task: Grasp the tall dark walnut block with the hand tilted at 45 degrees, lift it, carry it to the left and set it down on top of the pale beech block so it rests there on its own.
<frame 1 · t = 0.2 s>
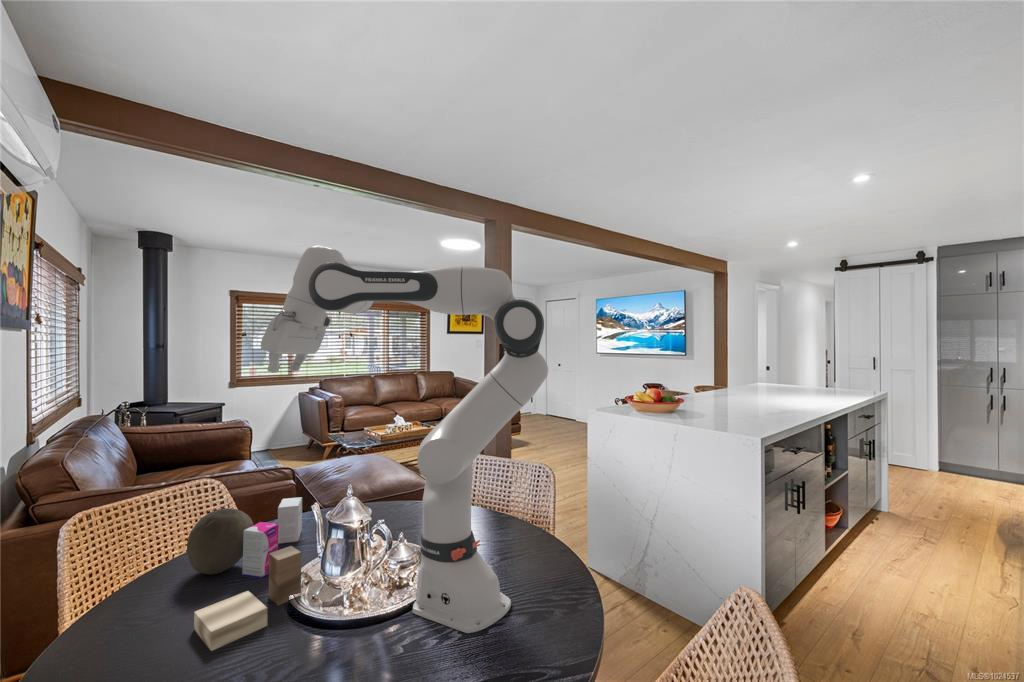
hand: (283, 371, 104), 51 cm above the table, tool tilted 20°, fingers open, 8 cm apart
beech block: (231, 629, 92), on the table
supplement box: (260, 572, 114), on the table
small box: (290, 537, 134), on the table
walnut block: (285, 596, 103), on the table
cantaloupe: (221, 570, 115), on the table
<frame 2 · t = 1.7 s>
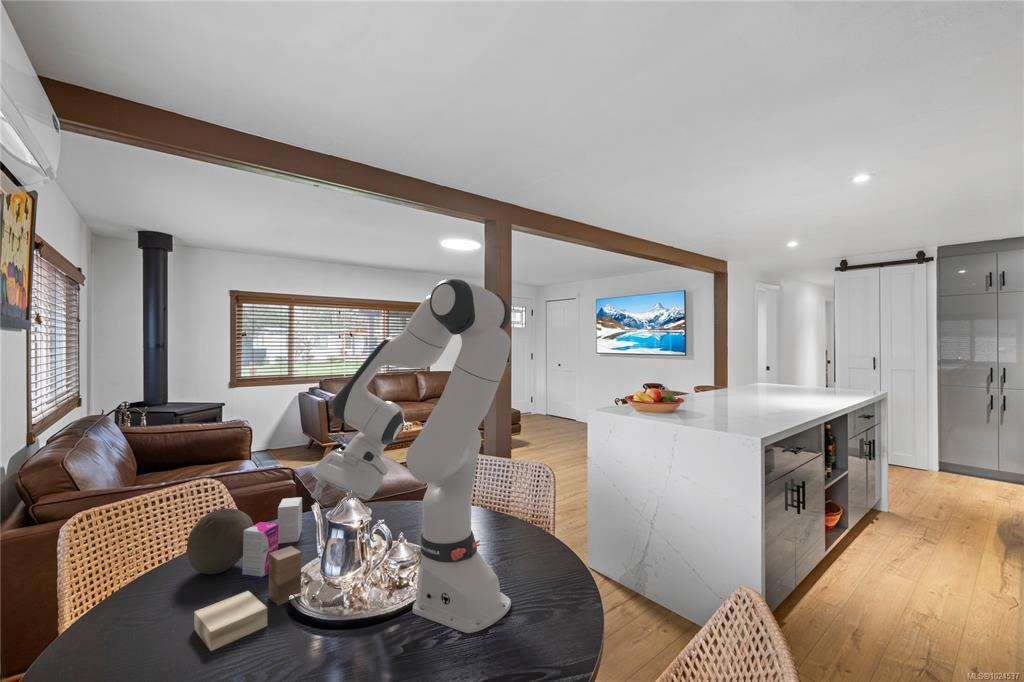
hand: (326, 503, 112), 18 cm above the table, tool tilted 45°, fingers open, 8 cm apart
nothing on the table moved.
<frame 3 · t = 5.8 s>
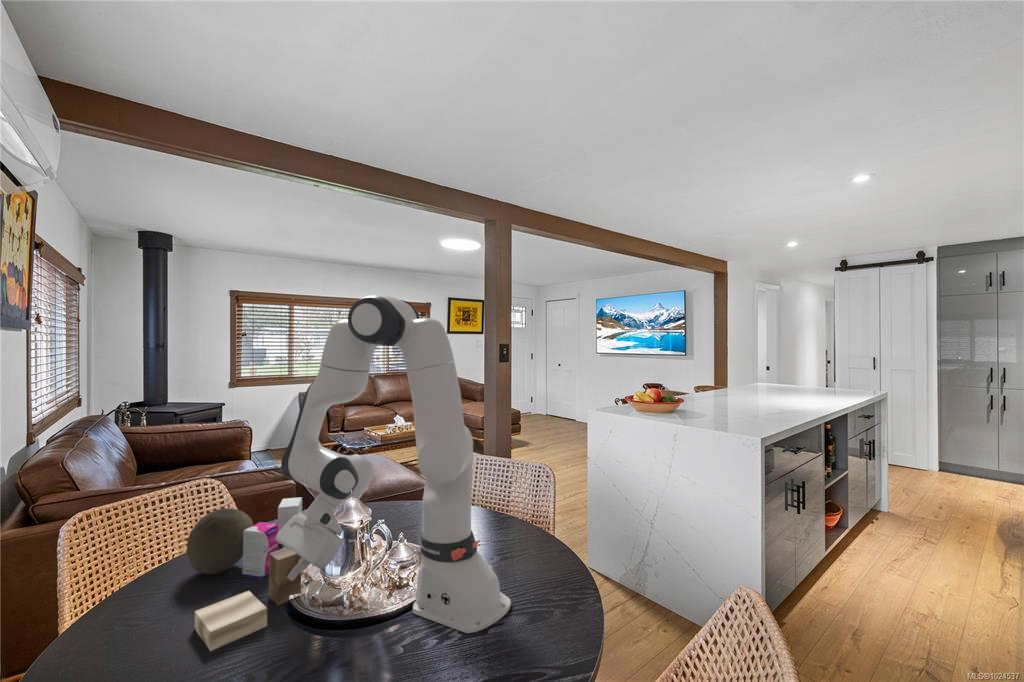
hand: (282, 574, 103), 5 cm above the table, tool tilted 45°, fingers closed on walnut block, 5 cm apart
walnut block: (285, 596, 103), on the table, touching gripper
everything else where it was.
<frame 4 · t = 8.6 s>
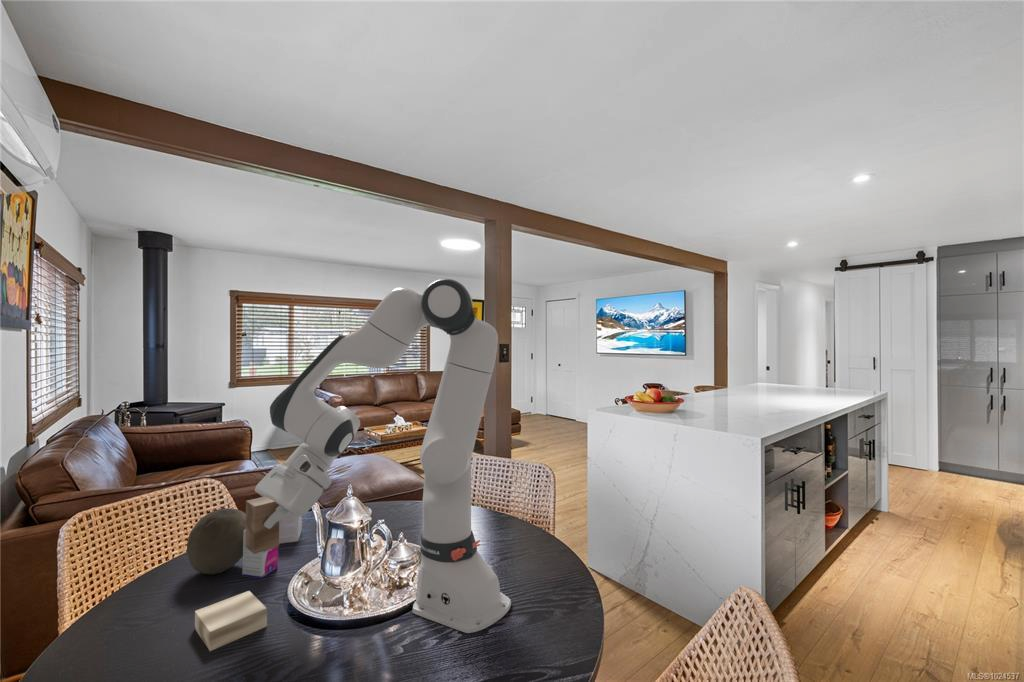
hand: (259, 522, 98), 19 cm above the table, tool tilted 45°, fingers closed on walnut block, 5 cm apart
walnut block: (262, 546, 99), point 13 cm above the table, touching gripper
everything else where it was.
when the fingers open (10 cm above the table, at t = 11.5 s): walnut block drops 1 cm, resting on beech block.
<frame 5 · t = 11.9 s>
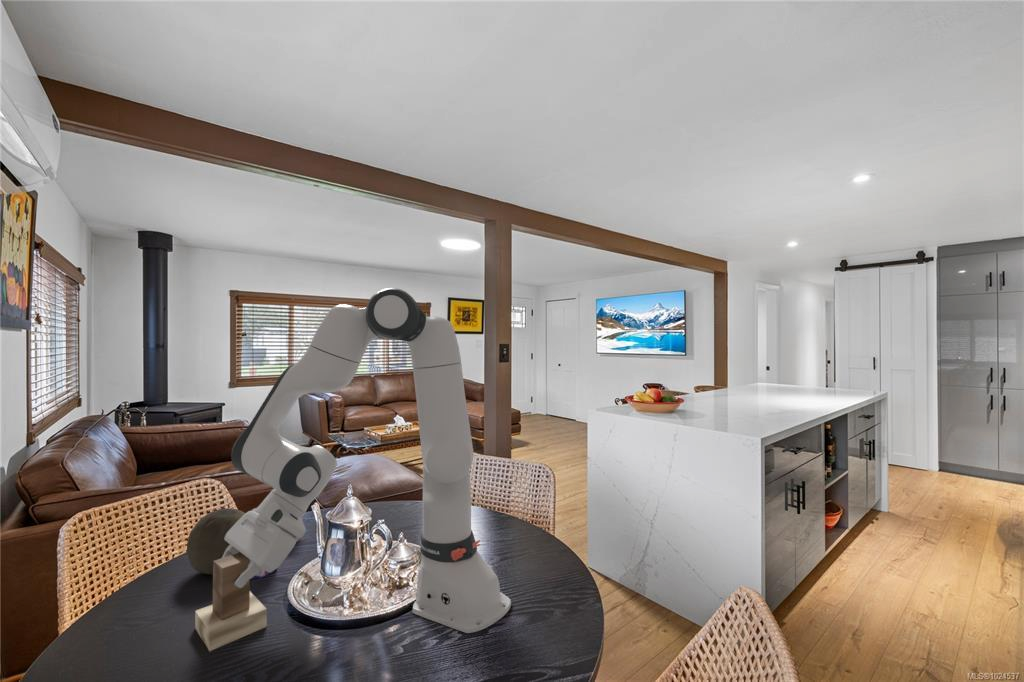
hand: (227, 577, 91), 10 cm above the table, tool tilted 45°, fingers open, 8 cm apart
beech block: (231, 629, 92), on the table, touching walnut block
walnut block: (231, 609, 92), point 4 cm above the table, touching beech block
everything else where it was.
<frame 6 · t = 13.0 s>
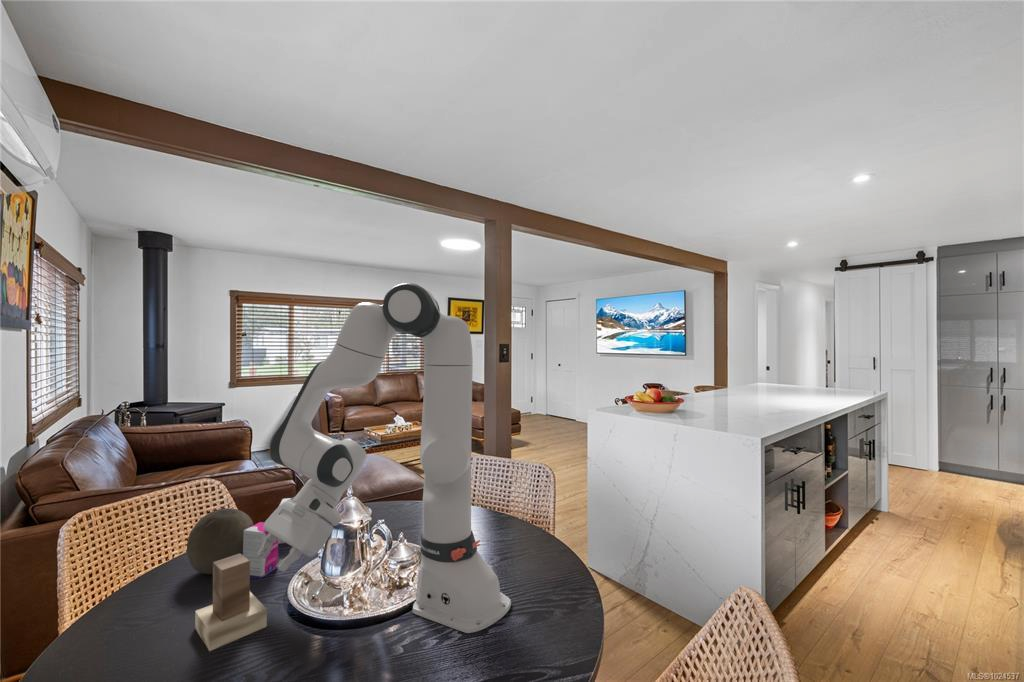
hand: (269, 563, 97), 10 cm above the table, tool tilted 45°, fingers open, 8 cm apart
nothing on the table moved.
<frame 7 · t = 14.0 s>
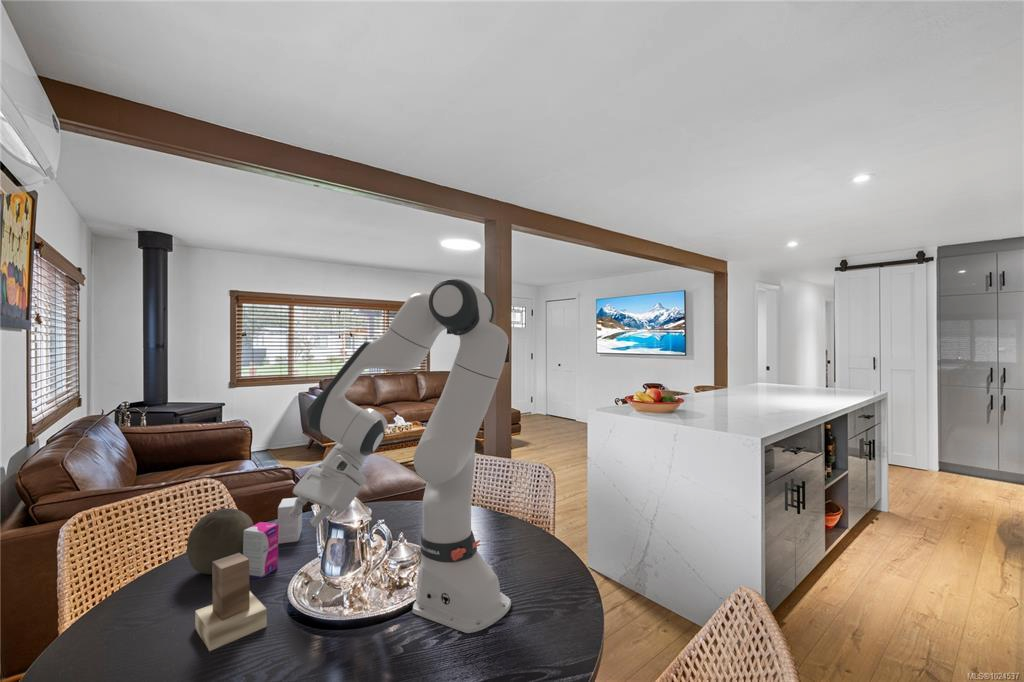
hand: (302, 521, 105), 17 cm above the table, tool tilted 45°, fingers open, 8 cm apart
nothing on the table moved.
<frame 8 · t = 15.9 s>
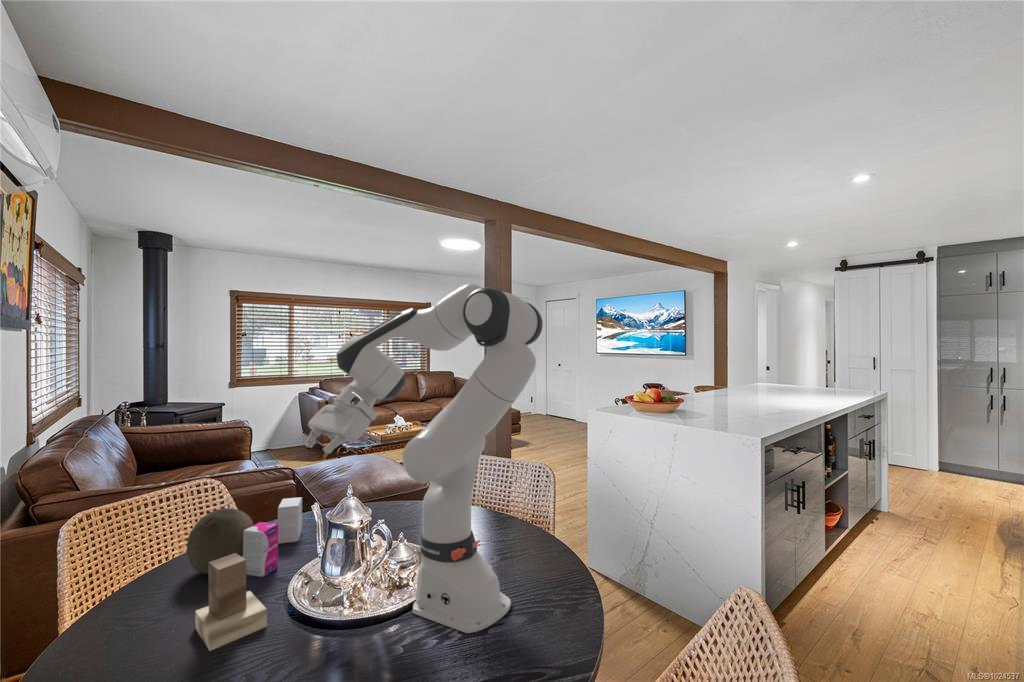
hand: (316, 448, 113), 31 cm above the table, tool tilted 45°, fingers open, 8 cm apart
beech block: (231, 629, 92), on the table
walnut block: (227, 610, 92), point 4 cm above the table
everything else where it was.
at the end: walnut block inside the target area on the beech block (0.6 cm from its centre), point 4.0 cm above the beech block's base; walnut block tilted 0°; the gripper is holding nothing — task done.
